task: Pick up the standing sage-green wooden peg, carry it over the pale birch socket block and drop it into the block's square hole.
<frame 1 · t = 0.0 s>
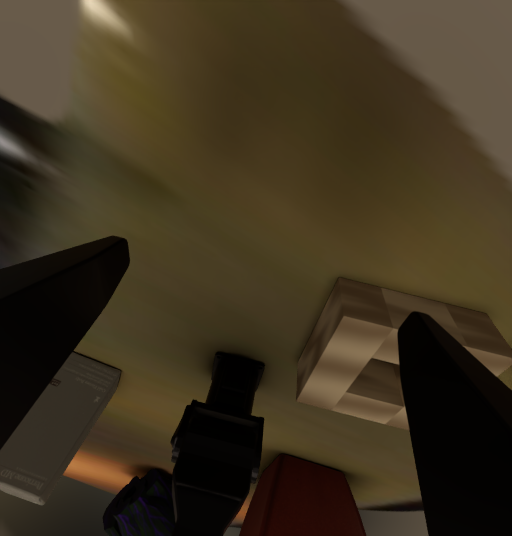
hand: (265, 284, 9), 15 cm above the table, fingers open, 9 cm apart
decorative plant: (177, 484, 74), on the table
skincare box: (95, 369, 44), on the table
socket block: (378, 341, 30), on the table
plant pot: (300, 470, 55), on the table
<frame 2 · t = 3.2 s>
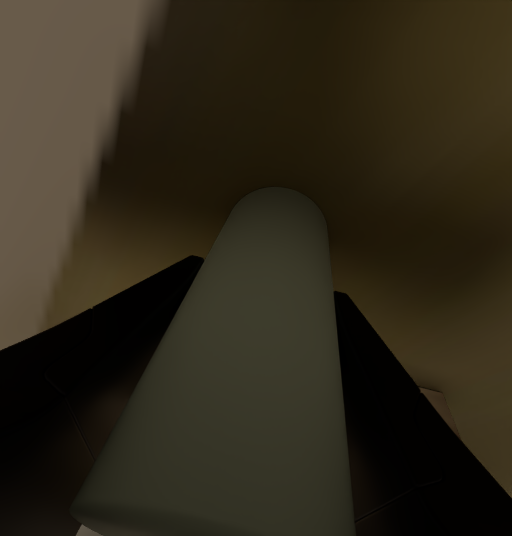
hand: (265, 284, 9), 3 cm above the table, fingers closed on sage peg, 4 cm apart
sage peg: (275, 236, 11), on the table, touching gripper
socket block: (285, 417, 19), on the table
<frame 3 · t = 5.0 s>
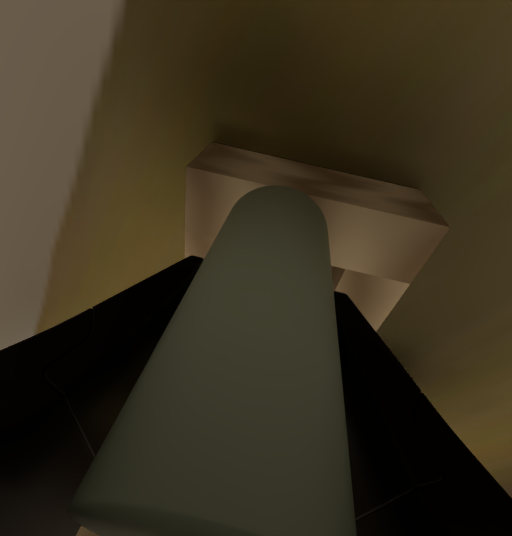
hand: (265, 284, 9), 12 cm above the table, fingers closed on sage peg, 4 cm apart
sage peg: (275, 234, 11), point 9 cm above the table, touching gripper
socket block: (289, 251, 23), on the table
when the fingers open (6 cm above the table, at t = 7.1 s): sage peg drops 3 cm, resting in socket block.
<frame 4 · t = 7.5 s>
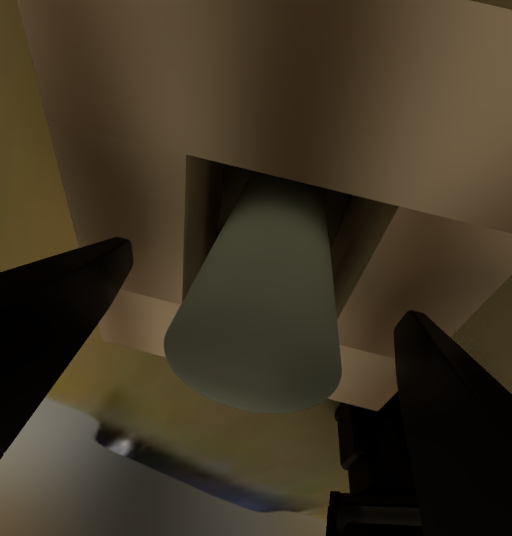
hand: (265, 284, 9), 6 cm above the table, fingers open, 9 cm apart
sage peg: (282, 205, 13), resting in socket block
socket block: (281, 205, 13), on the table
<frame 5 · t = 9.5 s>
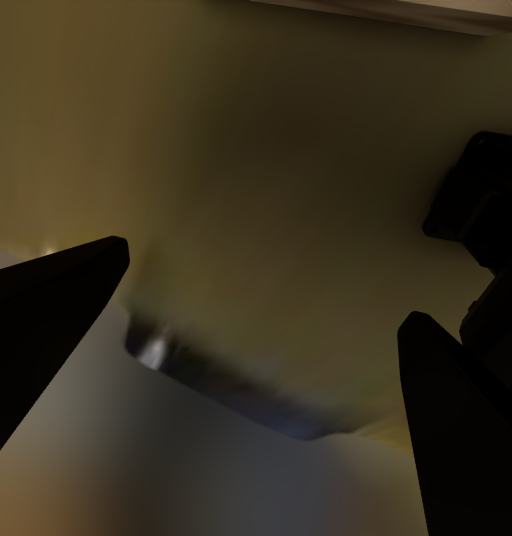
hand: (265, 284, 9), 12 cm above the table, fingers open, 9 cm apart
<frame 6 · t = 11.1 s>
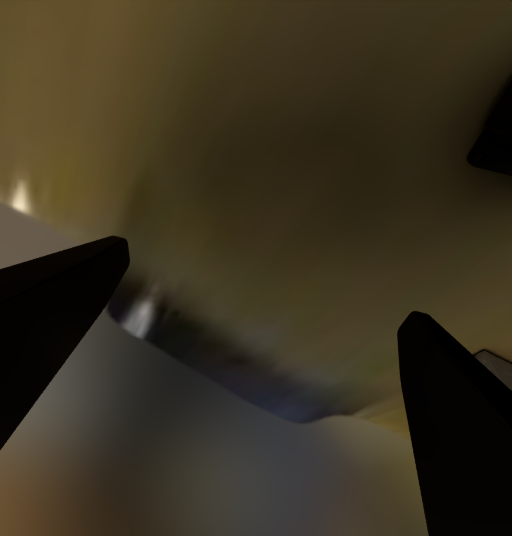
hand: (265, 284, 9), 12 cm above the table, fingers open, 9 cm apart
skincare box: (472, 381, 28), on the table
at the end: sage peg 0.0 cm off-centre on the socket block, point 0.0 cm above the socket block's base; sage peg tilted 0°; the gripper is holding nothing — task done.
